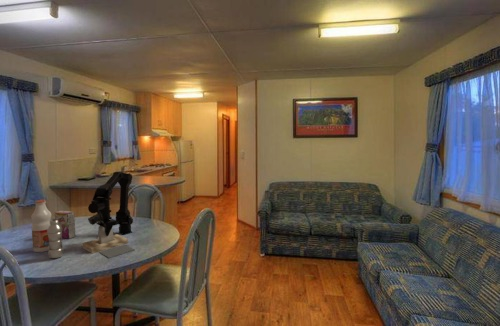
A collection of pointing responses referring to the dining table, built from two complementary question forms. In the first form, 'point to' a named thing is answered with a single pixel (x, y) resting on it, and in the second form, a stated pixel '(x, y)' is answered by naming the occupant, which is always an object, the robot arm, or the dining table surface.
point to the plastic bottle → (55, 239)
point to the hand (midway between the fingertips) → (105, 235)
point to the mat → (117, 251)
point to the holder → (104, 244)
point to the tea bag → (104, 235)
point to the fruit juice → (40, 226)
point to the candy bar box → (66, 223)
